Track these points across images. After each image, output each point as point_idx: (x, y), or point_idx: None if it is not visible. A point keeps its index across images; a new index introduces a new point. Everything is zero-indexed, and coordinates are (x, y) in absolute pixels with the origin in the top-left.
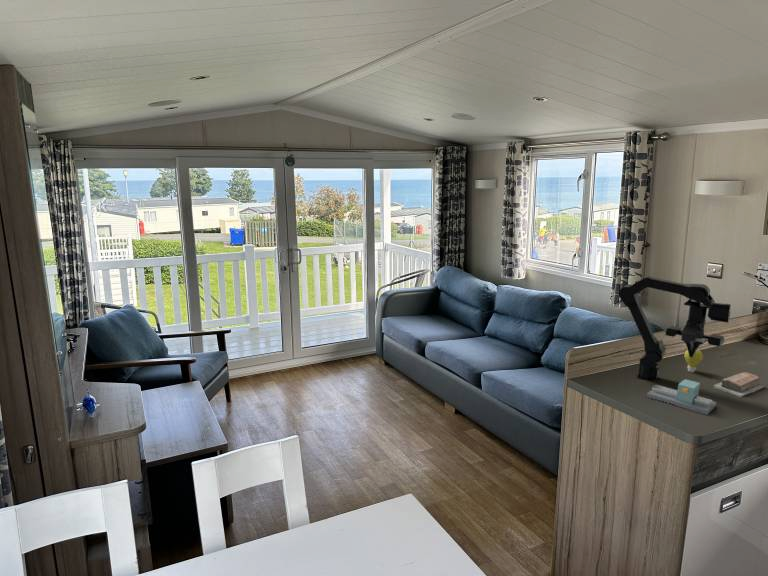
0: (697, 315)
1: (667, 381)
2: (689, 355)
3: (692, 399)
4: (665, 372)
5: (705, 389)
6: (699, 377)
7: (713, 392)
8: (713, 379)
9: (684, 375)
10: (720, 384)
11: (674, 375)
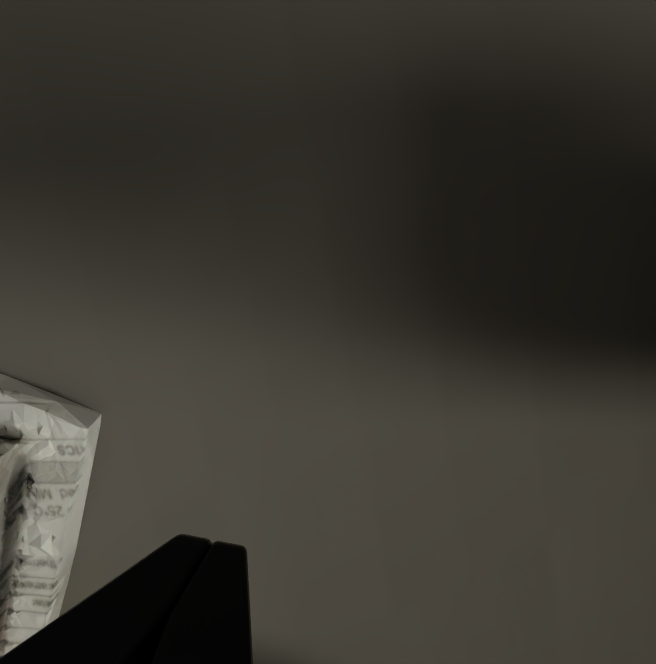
0: None
1: (579, 315)
2: (239, 576)
3: None
4: (624, 598)
5: (153, 320)
6: (285, 626)
7: (66, 279)
8: None
9: (421, 609)
10: (48, 489)
11: (519, 559)
